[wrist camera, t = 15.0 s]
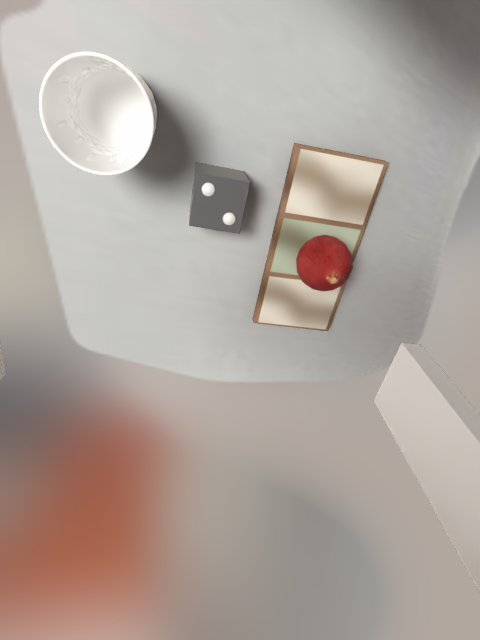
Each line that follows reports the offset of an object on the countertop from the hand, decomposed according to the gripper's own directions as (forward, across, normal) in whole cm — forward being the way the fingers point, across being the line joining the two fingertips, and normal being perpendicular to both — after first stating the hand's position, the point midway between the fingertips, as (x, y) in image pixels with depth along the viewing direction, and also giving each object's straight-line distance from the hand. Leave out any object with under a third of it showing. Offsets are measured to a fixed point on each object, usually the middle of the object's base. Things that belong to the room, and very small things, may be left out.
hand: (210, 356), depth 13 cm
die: (+32, +2, -2) cm, 32 cm away
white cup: (+32, -8, +4) cm, 33 cm away
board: (+32, +14, -6) cm, 35 cm away
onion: (+31, +14, -6) cm, 34 cm away
